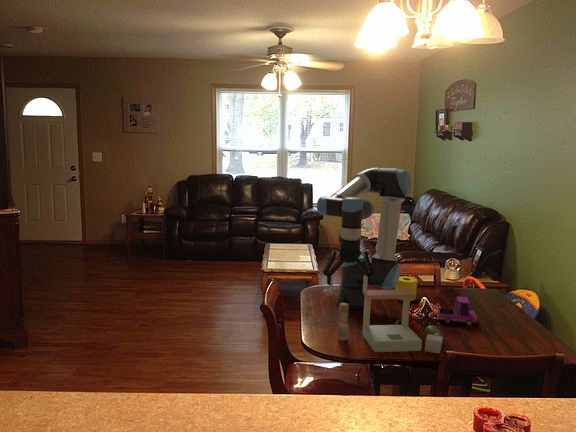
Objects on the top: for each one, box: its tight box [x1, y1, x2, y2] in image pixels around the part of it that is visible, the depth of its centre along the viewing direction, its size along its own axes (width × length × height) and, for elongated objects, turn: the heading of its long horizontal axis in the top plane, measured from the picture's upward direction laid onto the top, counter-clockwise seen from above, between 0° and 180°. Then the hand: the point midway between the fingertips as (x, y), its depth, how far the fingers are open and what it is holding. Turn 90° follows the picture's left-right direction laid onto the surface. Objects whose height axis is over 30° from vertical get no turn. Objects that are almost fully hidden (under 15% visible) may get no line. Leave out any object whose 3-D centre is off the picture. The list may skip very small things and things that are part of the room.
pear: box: [423, 324, 445, 345], centre depth 204 cm, size 6×5×10 cm
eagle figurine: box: [394, 314, 413, 327], centre depth 215 cm, size 8×7×9 cm
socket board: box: [361, 324, 423, 353], centre depth 200 cm, size 16×18×4 cm
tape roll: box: [394, 275, 418, 302], centre depth 255 cm, size 10×10×9 cm
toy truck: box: [437, 295, 478, 326], centre depth 226 cm, size 11×16×10 cm
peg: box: [337, 303, 350, 342], centre depth 202 cm, size 4×4×14 cm
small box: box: [424, 334, 444, 354], centre depth 195 cm, size 6×6×5 cm
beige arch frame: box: [362, 289, 417, 328], centre depth 204 cm, size 6×19×14 cm, turn 98°
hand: (347, 292), depth 200 cm, fingers open, 13 cm apart
